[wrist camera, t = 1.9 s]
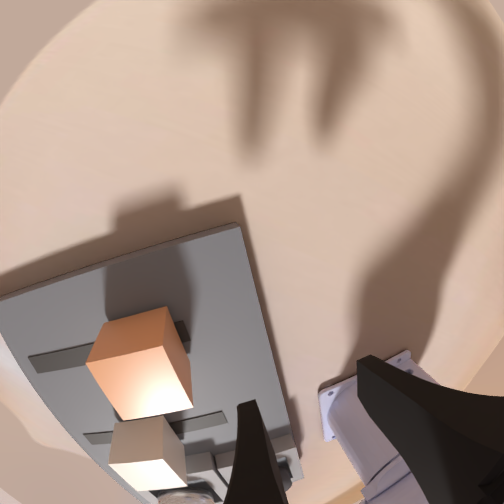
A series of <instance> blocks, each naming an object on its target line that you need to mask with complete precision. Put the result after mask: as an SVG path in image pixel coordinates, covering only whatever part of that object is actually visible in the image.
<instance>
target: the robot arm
mask: <svg viewBox="0 0 504 504" xmlns="http://www.w3.org/2000/svg"><path fill="white" fill-rule="evenodd" d="M330 391H331V392H330ZM318 398H319V406H320V413H321V421H322V429H323V437H324V440H325V441H326V442H328V441H331V440H334V439H337V440H338V442H339V444H340V445H341V447H342V449H343V450H344V452H345V454H346V455H347V457H348V459H349V460H350V462H351V464H352V465H353V467H354V469H355V470H356V472H357V474H358V475H359V477H360V478H361V480H362V482H363V483H364V485H365V487H364V488H363V489H362V490H361V492H362V494H363V496H364V497H365V499H364V500H362V501H361V502H360V504H504V397H499V396H487V395H479V394H472V393H467V392H463V391H459V390H454V389H450V388H447V387H444V386H441V385H440V384H438V383H437V382H436V381H435V380H434V379H433V378H432V377H431V376H430V375H428V374H427V373H426V372H425V371H424V370H423V369H422V368H421V367H419V366H418V365H417V364H416V363H415V362H414V361H413V360H412V359H411V352H410V351H409V350H405V351H403V352H402V353H400V354H398V355H396V356H394V357H392V358H390V359H388V360H386V361H383V360H381V359H379V358H377V357H375V356H372V355H368V356H366V357H364V358H362V359H360V360H357V375H355V376H353V377H351V378H349V379H346V380H344V381H342V382H340V383H337V384H335V385H333V386H330V387H328V388H325V389H323V390H321V391H320V392H319V394H318ZM223 504H288V501H287V497H286V493H285V490H284V486H283V482H282V478H281V474H280V470H279V466H278V463H277V459H276V455H275V452H274V449H273V446H272V443H271V441H270V438H269V435H268V432H267V430H266V427H265V424H264V421H263V419H262V416H261V413H260V410H259V407H258V405H257V402H256V399H254V400H251V401H247V402H244V403H240V404H238V406H237V440H236V448H235V456H234V462H233V467H232V472H231V477H230V481H229V485H228V489H227V493H226V496H225V499H224V502H223Z"/></svg>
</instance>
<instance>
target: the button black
mask: <svg viewBox="0 0 504 504" xmlns="http://www.w3.org/2000/svg"><path fill="white" fill-rule="evenodd" d="M279 470H280V474H281V478H282V482H283V486H284V490H285V491H287V490H288V489H289V488H290V487H291V486H292V481H291V479H290V476H289V474H288V471H287V469H286V468H284V467H281V466H279Z"/></svg>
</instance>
